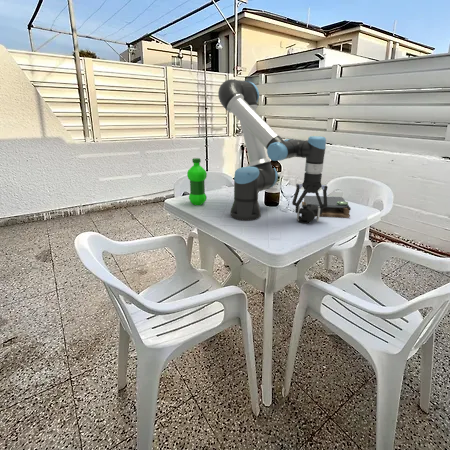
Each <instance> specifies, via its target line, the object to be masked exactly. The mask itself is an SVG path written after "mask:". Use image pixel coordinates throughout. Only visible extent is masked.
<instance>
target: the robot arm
mask: <svg viewBox="0 0 450 450" xmlns="http://www.w3.org/2000/svg"><path fill="white" fill-rule="evenodd" d="M217 95H218V100H219V102H220V104H221V105H222V107H223V108H224V109H225V110H226V111H227V112H228V113H230V114H233V116H235V117H236V118H237V119H238V120H239V122H240V127H241V131H242V135H243V138H244V139H243V140H244V144H245V147H246V151H247V152H246V153H247V156H248V160H249V163H248V166H243V167H239V168H237V169H236V170H235V171H234V177H233V182H234V183H233V184H234V185H233V187H234V188H233V197H234V198H233V201H232V206H231V209H230V217H231V218H232V219H234V220H239V221H255V220H258V219H260V218H261V217H262V216H261V215H262V212H261V208H260V204H259V193H260V192H263V191H265V190H269V189H271V188H273V186H275V185H276V183H277V181H278V177H279V176H278V175H279V174H278V171H276V170H277V169H276V168H275V167H274V168H272V166H273V165H272V163H271V161H273V162H277V161H284V160H287V159H291V158H302V159H305V167H304V177H303V182H302V183H296V184H295V185H296V186H295V187H296V189H295V192H294V195H293V199H292V206H295V208H294V211H295V214H297V215H296V221H299V219H298V217H299V216H301V214H299V210H300V208H301V204H302V202H303V201H304V197H305V196H307V194H315V196H316V197H317V199H318V202H319V205H320V207H319V206H318V210H317V216H316V217H315V219H316V222H319V220H320V217H319V216H320V214H322V211H323V207H327V196H328V195H327V194H328V193H327V191H328V186H327V184H322V175H323V174H322V173H323V167H324V161H325V153H326V148H327V147H326V143H327V138H326V137H325V136H320V135H316V136H315V135H311V136H309V137H308V139H307V140H301V139H294V138H287V139H283V138H282V137H281V136H280V135H279V134H278V133H277V132H276V131H275V130H274V129H273V128H272V127H271V126H270V125H269V124H268V123H267V122H266V121H265V120H264V119H263V118H262V117H261V116H260V115H259V114H258V112H256V111H257V108H258V102H259V98H260V91H259V88H258V86H257V85H256V84H255V83H253V82H252V81H249V80H239V79H227V80H224V81H223V82H222V83H221V85H220V86H219V89H218V94H217ZM265 149H266V150H265ZM267 157H268V158H267ZM302 188H303V191H302V194H301V195H300V196H299V194H300V190H301V189H302ZM320 189H321V190H322V196H323V199H324V204H322V202H321V199H320V196H321V195H320V193H319V190H320ZM298 196H299V198H298Z"/></svg>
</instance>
